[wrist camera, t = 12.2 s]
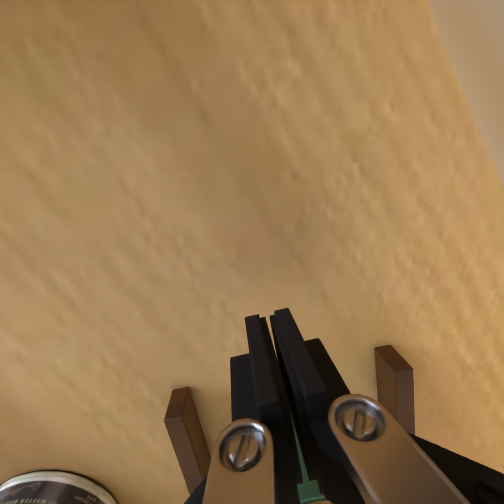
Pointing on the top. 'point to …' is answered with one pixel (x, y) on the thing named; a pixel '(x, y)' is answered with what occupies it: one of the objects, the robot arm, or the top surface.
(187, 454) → the walnut frame
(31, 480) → the coffee can
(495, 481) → the robot arm
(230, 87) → the top surface
